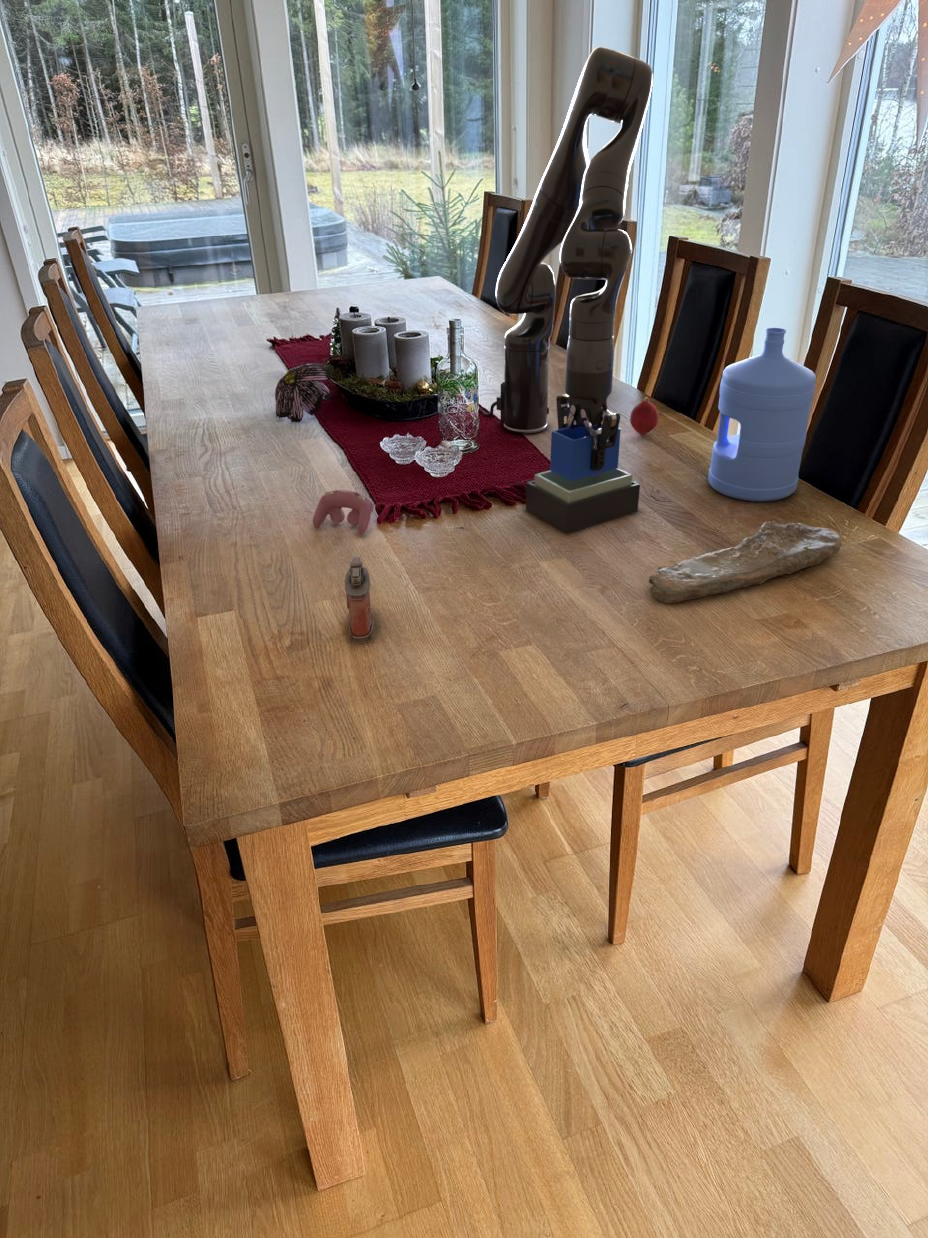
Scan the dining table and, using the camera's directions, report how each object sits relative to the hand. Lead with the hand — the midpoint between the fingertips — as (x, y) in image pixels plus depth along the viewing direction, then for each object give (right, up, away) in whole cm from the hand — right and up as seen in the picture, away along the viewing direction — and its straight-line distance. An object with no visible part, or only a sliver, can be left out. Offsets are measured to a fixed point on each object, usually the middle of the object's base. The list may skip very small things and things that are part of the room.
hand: (584, 463), depth 151 cm
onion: (+17, +12, +36) cm, 42 cm away
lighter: (-35, -28, -27) cm, 52 cm away
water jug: (+32, -2, +13) cm, 35 cm away
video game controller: (-41, -10, +1) cm, 42 cm away
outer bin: (0, -7, +5) cm, 9 cm away
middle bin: (0, -7, +5) cm, 9 cm away
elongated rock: (+22, -19, -15) cm, 34 cm away
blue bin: (0, -1, +1) cm, 1 cm away
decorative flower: (-57, +21, +53) cm, 81 cm away
